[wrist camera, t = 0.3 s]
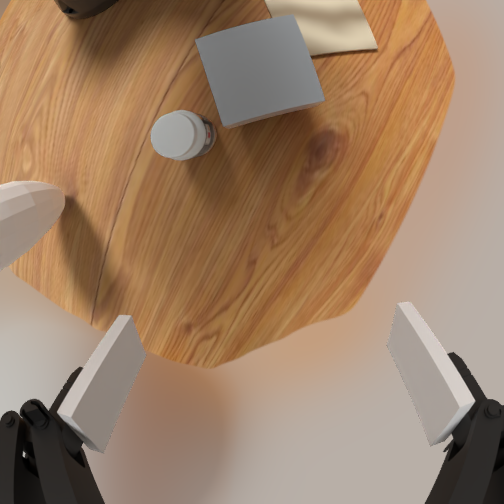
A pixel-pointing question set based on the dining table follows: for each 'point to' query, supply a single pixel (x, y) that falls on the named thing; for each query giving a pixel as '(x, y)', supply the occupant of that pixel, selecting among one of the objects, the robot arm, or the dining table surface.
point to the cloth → (327, 24)
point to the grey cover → (259, 70)
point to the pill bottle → (183, 135)
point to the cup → (26, 216)
